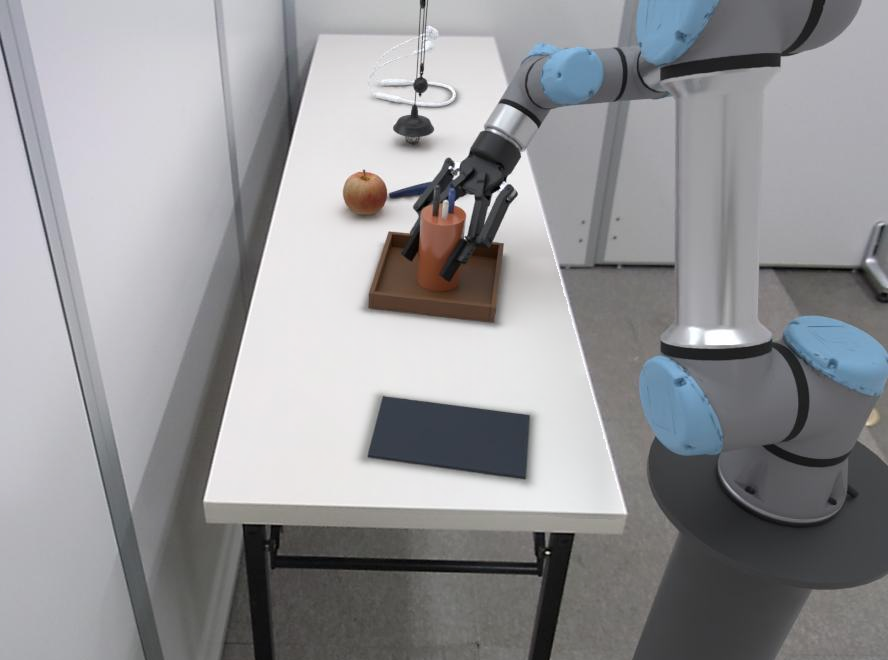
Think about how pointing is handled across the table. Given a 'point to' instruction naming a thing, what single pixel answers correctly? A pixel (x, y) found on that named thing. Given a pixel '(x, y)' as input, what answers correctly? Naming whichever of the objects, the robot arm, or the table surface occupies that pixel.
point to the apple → (364, 193)
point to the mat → (451, 437)
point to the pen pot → (439, 241)
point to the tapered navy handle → (413, 190)
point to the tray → (404, 294)
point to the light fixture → (414, 122)
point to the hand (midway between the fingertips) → (425, 267)
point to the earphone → (428, 48)
